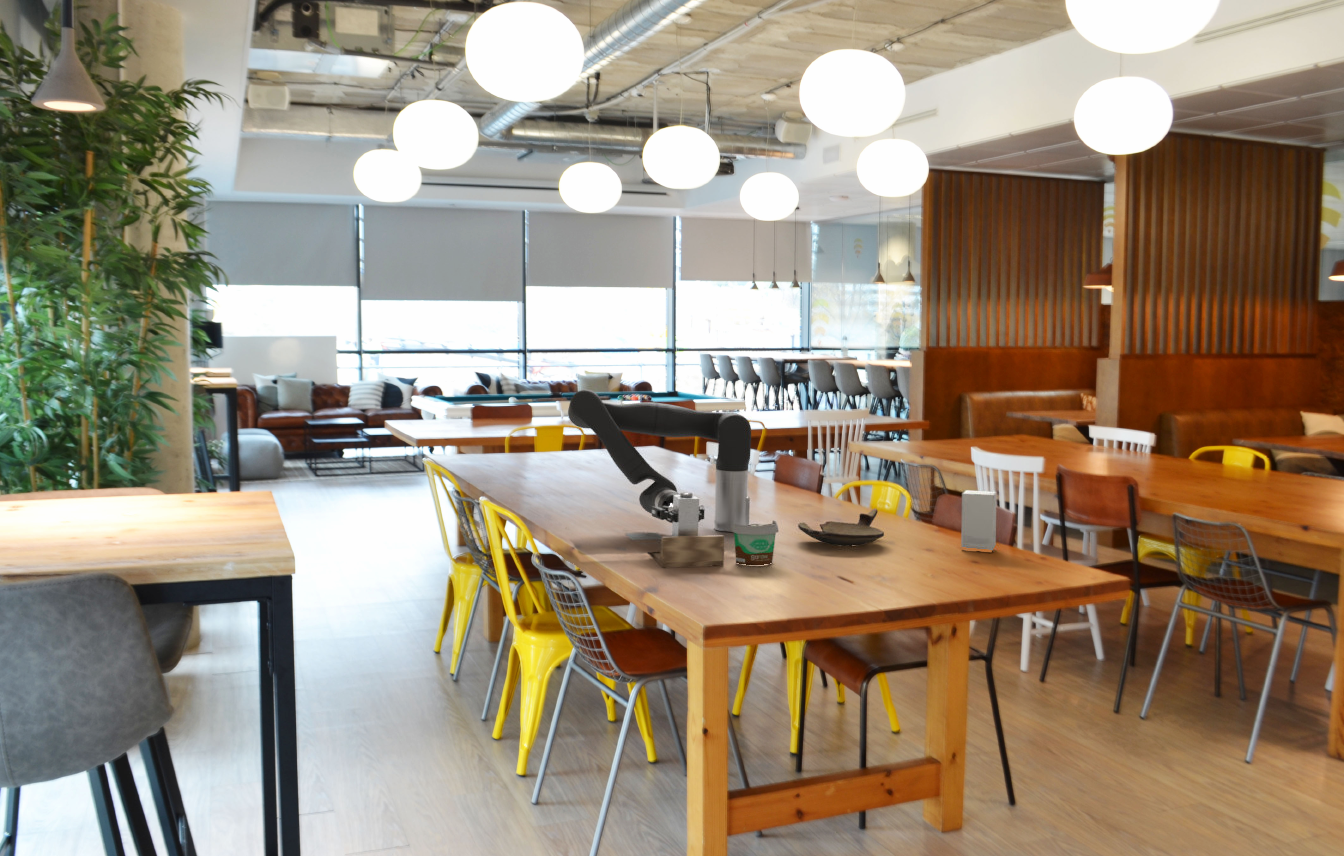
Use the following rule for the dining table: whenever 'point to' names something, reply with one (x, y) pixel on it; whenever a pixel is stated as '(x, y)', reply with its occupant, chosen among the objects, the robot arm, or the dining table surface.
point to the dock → (690, 551)
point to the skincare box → (978, 519)
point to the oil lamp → (846, 531)
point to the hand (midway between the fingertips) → (687, 517)
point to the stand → (643, 536)
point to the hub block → (686, 515)
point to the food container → (754, 543)
